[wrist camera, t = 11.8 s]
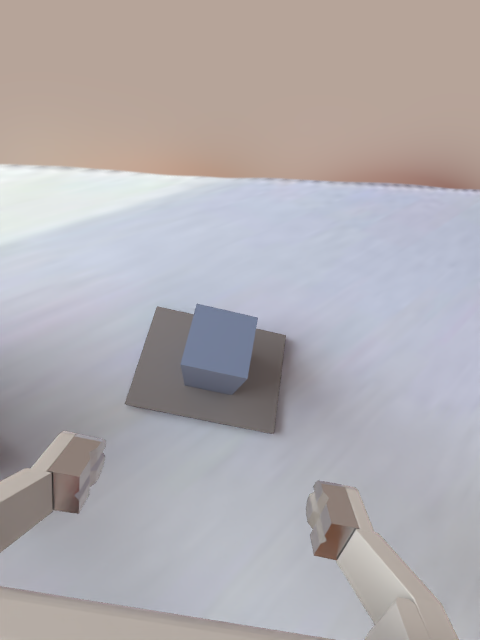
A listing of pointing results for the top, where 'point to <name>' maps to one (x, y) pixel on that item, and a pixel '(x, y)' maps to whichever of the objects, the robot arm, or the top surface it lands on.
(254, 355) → the marker stand
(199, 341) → the blue rectangular block
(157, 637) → the robot arm
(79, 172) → the top surface
